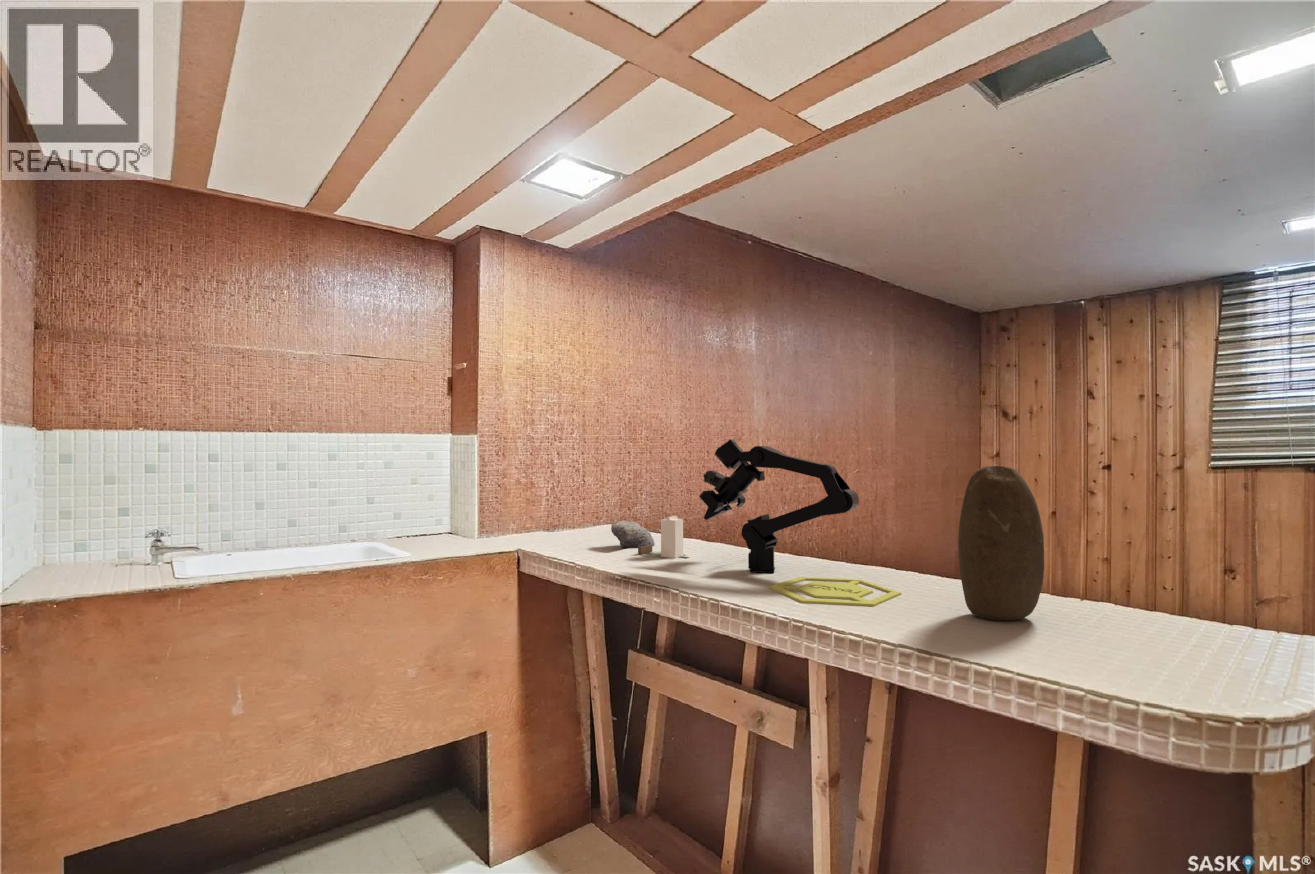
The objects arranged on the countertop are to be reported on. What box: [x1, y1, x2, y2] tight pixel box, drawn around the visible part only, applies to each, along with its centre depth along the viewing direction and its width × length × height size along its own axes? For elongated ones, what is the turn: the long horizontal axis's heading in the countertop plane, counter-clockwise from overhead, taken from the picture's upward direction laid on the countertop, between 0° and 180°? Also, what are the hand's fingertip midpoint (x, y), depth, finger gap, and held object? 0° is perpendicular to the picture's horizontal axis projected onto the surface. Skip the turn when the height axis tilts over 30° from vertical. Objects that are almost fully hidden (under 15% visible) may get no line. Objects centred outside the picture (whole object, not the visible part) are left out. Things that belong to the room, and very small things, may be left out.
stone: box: [957, 465, 1045, 621], centre depth 125 cm, size 13×15×30 cm
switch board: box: [637, 545, 691, 561], centre depth 190 cm, size 17×10×4 cm, turn 57°
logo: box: [769, 576, 903, 608], centre depth 148 cm, size 26×1×30 cm
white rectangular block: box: [660, 515, 684, 559], centre depth 188 cm, size 5×4×12 cm
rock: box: [610, 520, 656, 550], centre depth 212 cm, size 11×17×10 cm, turn 39°
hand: (705, 518), depth 182 cm, fingers closed
